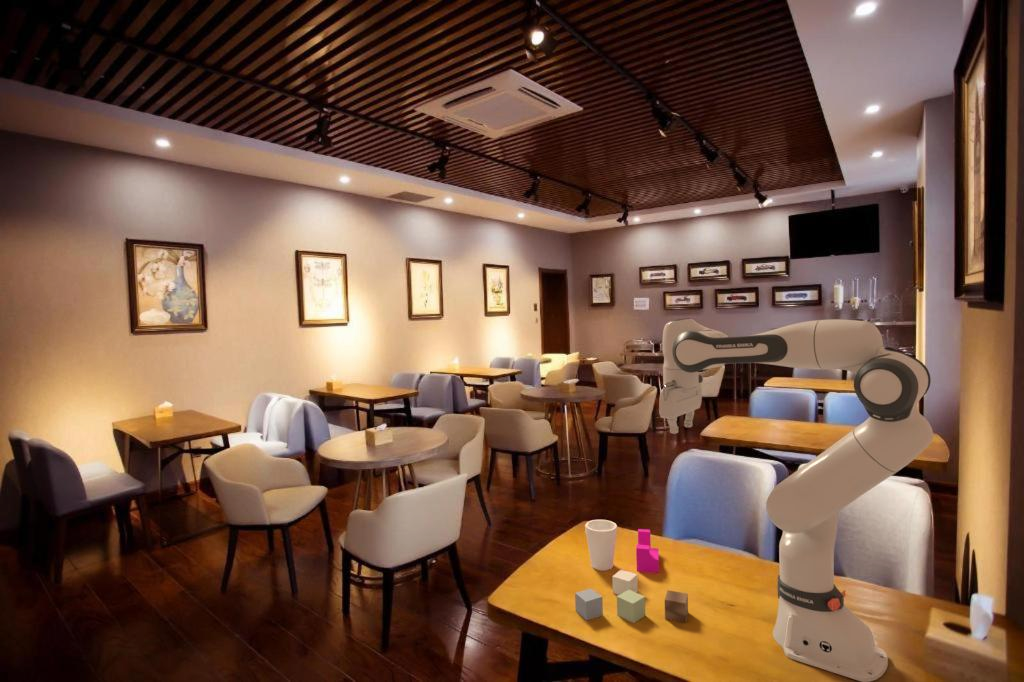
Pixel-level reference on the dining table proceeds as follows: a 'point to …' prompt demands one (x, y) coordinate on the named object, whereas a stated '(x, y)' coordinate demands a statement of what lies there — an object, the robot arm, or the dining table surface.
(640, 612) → the cube sage
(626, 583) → the cube offwhite
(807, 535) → the robot arm
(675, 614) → the cube walnut
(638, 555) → the toy block
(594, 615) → the cube slate
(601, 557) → the foam cup
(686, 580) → the dining table surface
